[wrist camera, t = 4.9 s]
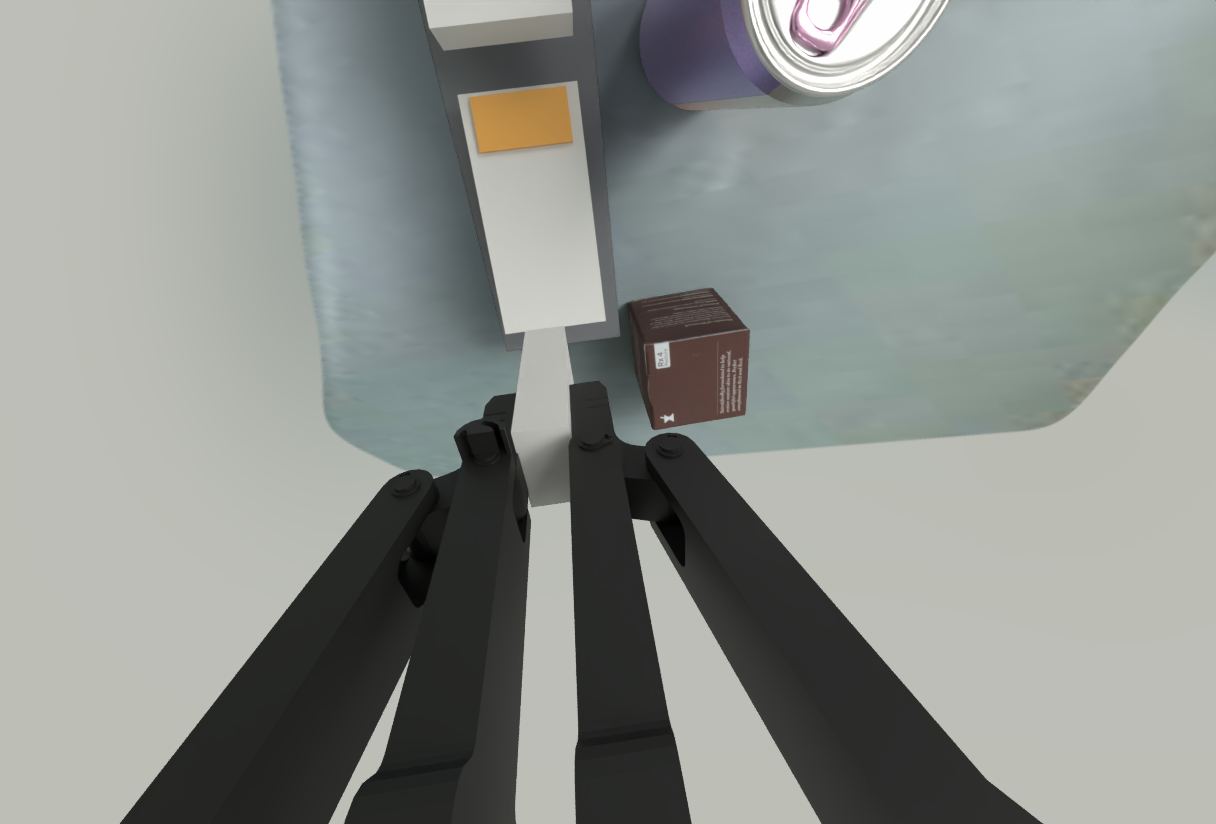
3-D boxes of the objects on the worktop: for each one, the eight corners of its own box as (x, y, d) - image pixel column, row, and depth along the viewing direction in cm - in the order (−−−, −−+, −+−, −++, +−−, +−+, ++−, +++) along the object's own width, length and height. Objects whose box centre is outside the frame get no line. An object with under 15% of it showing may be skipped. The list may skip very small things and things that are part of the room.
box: (712, 363, 34) (746, 417, 27) (634, 375, 33) (651, 433, 27) (713, 284, 30) (752, 327, 24) (626, 298, 30) (643, 344, 24)
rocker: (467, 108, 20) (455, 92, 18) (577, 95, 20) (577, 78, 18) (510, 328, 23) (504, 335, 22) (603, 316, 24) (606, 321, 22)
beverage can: (617, 75, 23) (687, 29, 11) (672, -72, 20) (854, -363, 8) (712, 131, 25) (865, 146, 13) (774, 3, 22) (1050, -139, 10)
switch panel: (362, -310, 16) (298, -449, 12) (552, -328, 16) (550, -470, 12) (512, 325, 30) (505, 357, 26) (613, 312, 30) (622, 341, 26)
